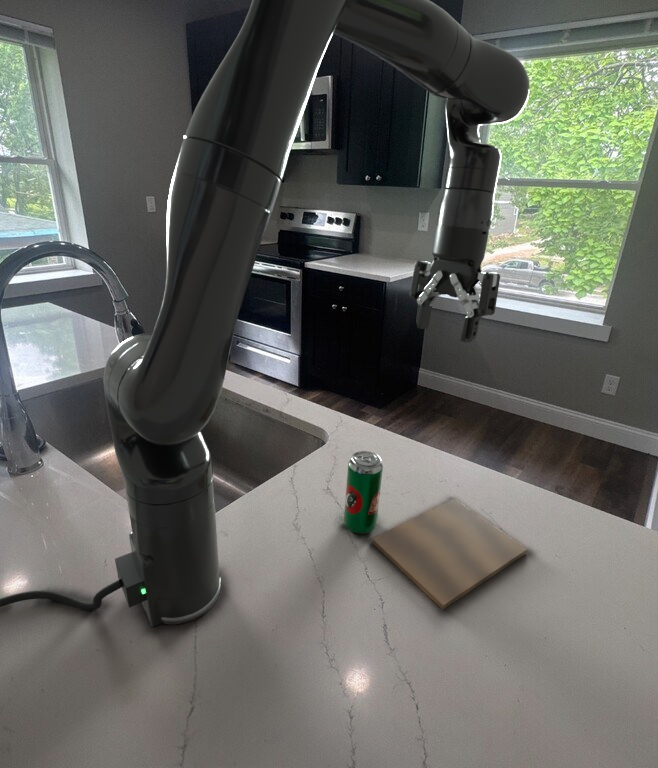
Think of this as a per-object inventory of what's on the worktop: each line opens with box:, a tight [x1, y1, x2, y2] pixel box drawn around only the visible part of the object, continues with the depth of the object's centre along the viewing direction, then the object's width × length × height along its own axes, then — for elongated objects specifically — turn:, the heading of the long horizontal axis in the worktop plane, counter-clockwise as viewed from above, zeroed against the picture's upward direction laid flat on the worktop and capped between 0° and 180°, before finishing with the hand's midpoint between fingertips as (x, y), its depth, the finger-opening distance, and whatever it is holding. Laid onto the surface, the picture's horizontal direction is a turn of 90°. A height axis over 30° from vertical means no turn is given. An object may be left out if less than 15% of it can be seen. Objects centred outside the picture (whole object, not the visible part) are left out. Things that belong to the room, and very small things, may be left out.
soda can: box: [343, 450, 384, 535], centre depth 70 cm, size 5×5×12 cm
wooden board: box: [371, 498, 528, 611], centre depth 68 cm, size 18×14×1 cm
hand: (443, 334), depth 72 cm, fingers open, 8 cm apart
